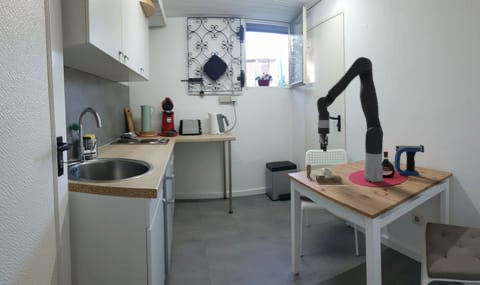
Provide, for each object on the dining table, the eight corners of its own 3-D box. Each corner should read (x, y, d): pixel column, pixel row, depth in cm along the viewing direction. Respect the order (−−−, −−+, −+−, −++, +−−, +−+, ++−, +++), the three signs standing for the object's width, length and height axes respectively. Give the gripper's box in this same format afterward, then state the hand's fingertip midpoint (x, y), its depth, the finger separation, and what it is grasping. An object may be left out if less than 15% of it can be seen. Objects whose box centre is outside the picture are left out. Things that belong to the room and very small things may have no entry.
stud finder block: (328, 173, 178) (329, 167, 178) (331, 176, 172) (331, 170, 171) (321, 174, 179) (321, 167, 178) (323, 176, 172) (323, 170, 171)
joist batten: (339, 180, 163) (339, 175, 163) (341, 182, 158) (341, 177, 158) (315, 180, 165) (315, 175, 164) (317, 182, 160) (317, 177, 159)
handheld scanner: (423, 175, 172) (425, 145, 170) (395, 175, 175) (397, 145, 173) (419, 174, 176) (421, 144, 174) (393, 173, 180) (394, 144, 177)
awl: (310, 177, 174) (310, 164, 173) (311, 178, 172) (311, 165, 170) (306, 177, 174) (306, 164, 173) (306, 178, 172) (307, 165, 170)
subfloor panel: (332, 175, 179) (332, 173, 179) (341, 184, 159) (341, 182, 158) (311, 175, 181) (311, 173, 180) (317, 184, 160) (317, 182, 160)
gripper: (332, 127, 172) (331, 152, 174) (326, 125, 186) (326, 148, 188) (320, 127, 173) (320, 152, 175) (315, 126, 187) (315, 148, 189)
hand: (323, 150), depth 182 cm, fingers open, 8 cm apart
